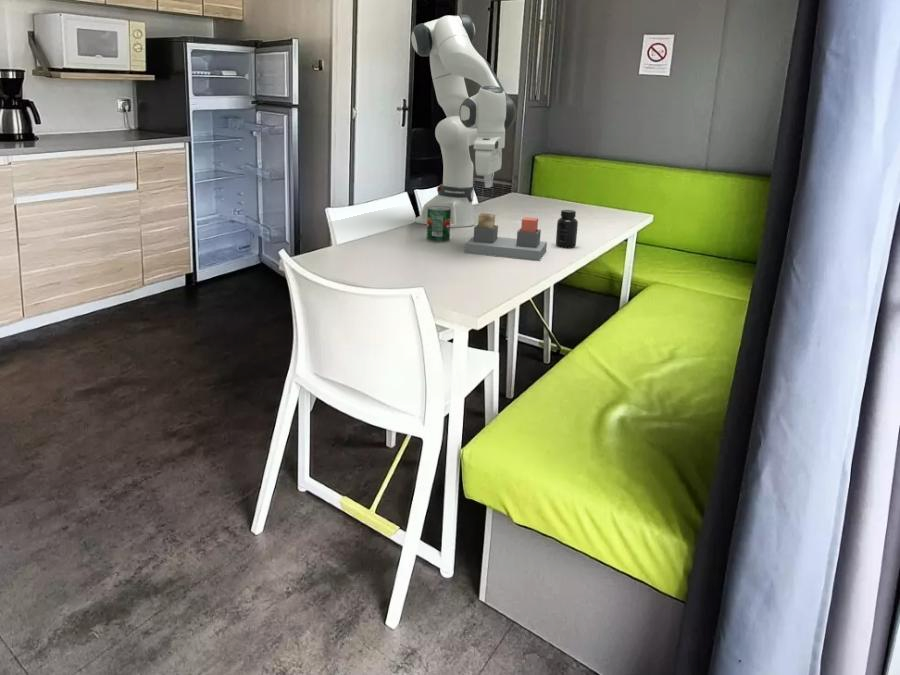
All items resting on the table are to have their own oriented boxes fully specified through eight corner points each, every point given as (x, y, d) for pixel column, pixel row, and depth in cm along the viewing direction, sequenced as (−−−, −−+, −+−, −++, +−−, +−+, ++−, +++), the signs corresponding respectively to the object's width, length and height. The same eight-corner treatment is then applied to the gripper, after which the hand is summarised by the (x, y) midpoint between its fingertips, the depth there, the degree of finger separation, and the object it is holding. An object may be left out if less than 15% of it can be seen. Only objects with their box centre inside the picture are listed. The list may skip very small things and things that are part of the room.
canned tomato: (423, 237, 246) (424, 205, 242) (445, 236, 248) (446, 205, 244) (430, 242, 239) (432, 210, 235) (453, 242, 241) (454, 209, 237)
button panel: (464, 252, 228) (465, 229, 225) (475, 243, 240) (476, 221, 238) (539, 260, 222) (541, 236, 219) (546, 250, 234) (548, 227, 232)
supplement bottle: (561, 242, 247) (565, 208, 243) (579, 246, 243) (583, 211, 239) (551, 246, 242) (554, 210, 237) (568, 249, 238) (572, 213, 233)
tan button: (477, 227, 229) (478, 215, 227) (481, 225, 233) (481, 213, 231) (491, 229, 228) (492, 216, 226) (494, 226, 232) (495, 214, 230)
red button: (521, 232, 225) (521, 219, 224) (523, 229, 229) (524, 217, 228) (534, 233, 224) (535, 220, 223) (537, 230, 228) (538, 218, 227)
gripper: (488, 139, 231) (486, 182, 236) (472, 143, 212) (470, 190, 217) (507, 139, 229) (505, 183, 234) (493, 144, 211) (490, 192, 216)
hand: (488, 187), depth 225 cm, fingers closed
